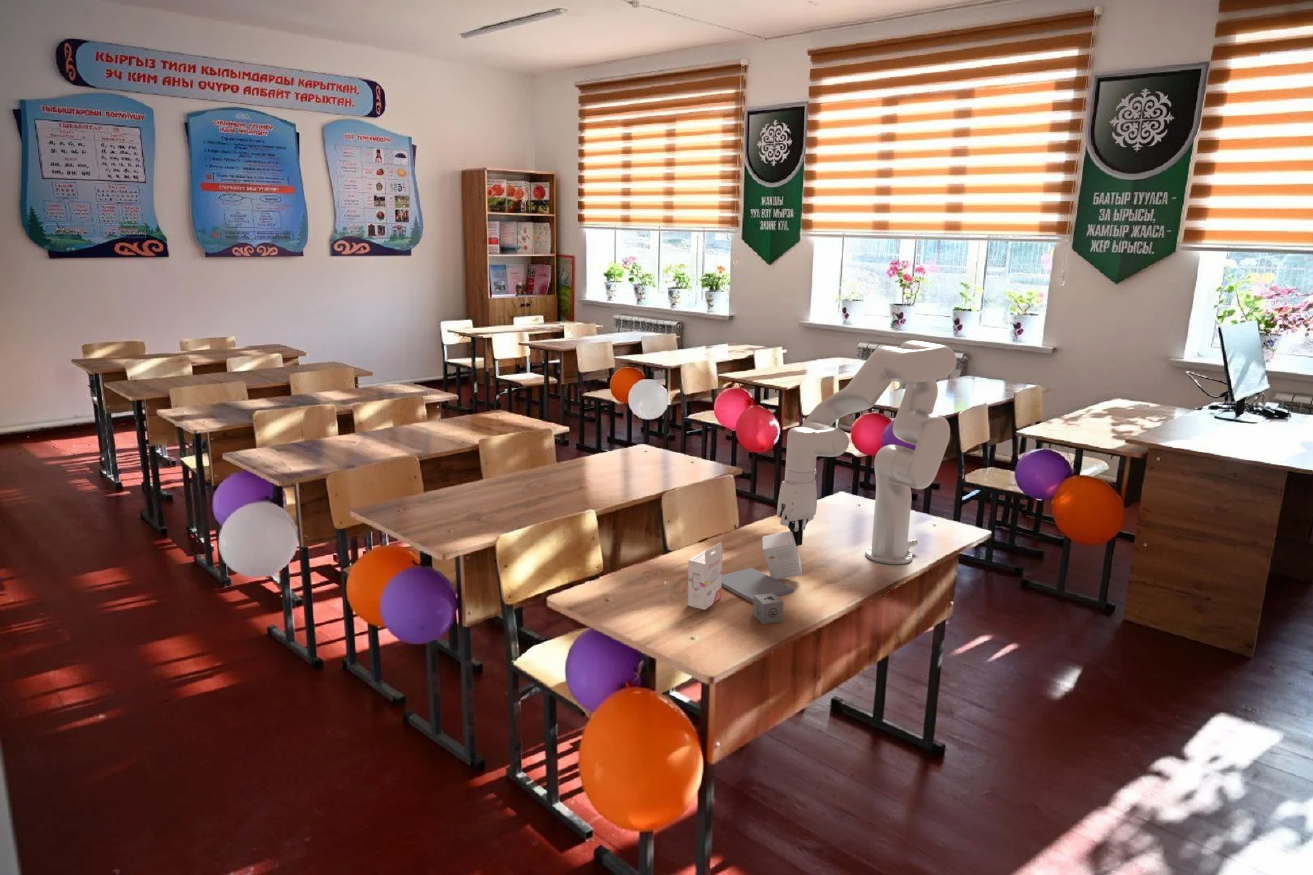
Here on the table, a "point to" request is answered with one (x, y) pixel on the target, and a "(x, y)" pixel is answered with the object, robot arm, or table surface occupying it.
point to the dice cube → (768, 608)
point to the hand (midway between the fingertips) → (795, 543)
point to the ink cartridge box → (705, 578)
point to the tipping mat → (753, 584)
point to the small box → (781, 555)
